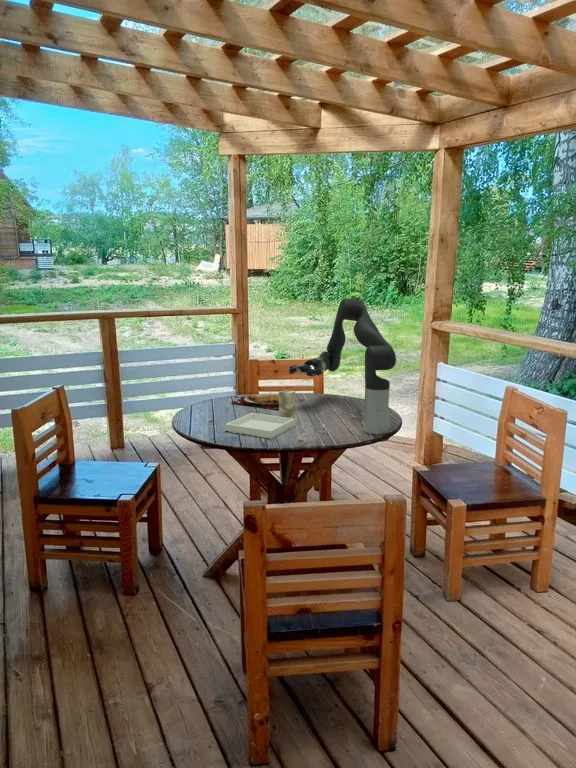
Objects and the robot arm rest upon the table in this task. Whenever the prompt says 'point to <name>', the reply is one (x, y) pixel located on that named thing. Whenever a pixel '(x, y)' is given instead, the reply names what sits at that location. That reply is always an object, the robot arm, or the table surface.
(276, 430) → the tray
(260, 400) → the plate with food
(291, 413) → the block
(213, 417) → the table surface
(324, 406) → the table surface
